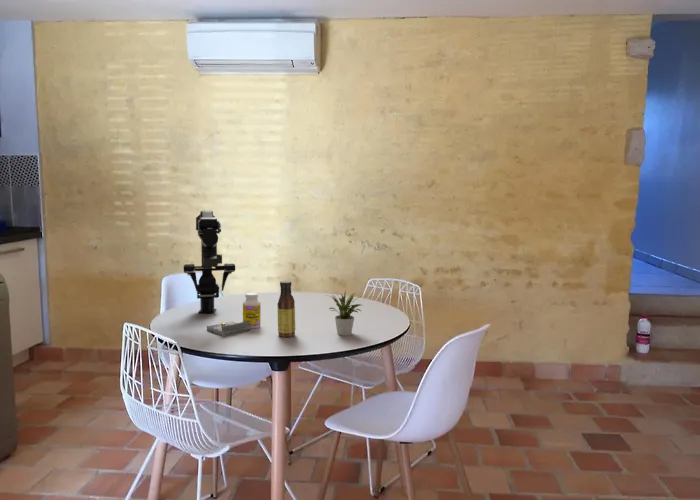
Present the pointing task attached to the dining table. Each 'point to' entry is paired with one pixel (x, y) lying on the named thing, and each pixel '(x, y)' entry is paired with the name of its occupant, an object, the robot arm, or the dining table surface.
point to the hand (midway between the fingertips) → (209, 291)
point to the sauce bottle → (286, 311)
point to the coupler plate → (229, 328)
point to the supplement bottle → (252, 310)
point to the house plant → (345, 315)
